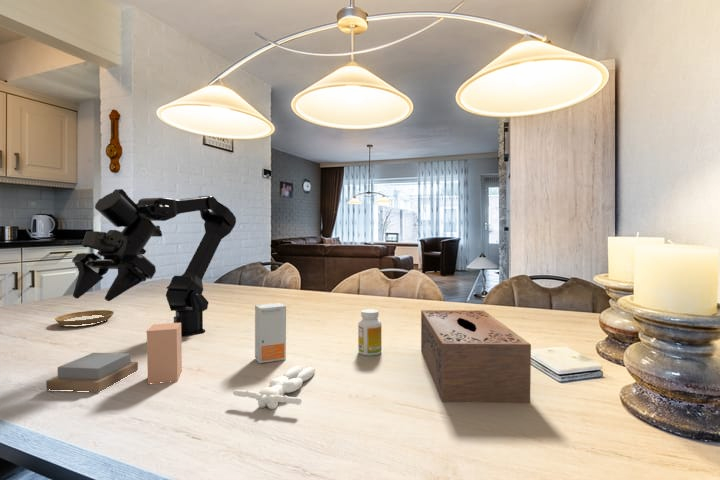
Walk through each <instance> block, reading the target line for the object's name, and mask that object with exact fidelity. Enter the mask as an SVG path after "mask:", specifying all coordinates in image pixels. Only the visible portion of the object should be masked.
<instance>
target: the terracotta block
mask: <svg viewBox="0 0 720 480" xmlns="http://www.w3.org/2000/svg"><path fill="white" fill-rule="evenodd" d="M146 342H147V343H146V344H147V345H146V357H147V359H146V360H147V363H146V364H147V385H148V384H150V383H159V384H161V383H160V382H168V383H173V382H172V381H177V382H179V380H180V377H181V375H180V374H182V373H183V361H182V360H183V359H182V358H183V357H182V356H183V355H182V353H183V352H182V349H183V347H182V345H183V344H182V336H181V323H174V322H172V323H171V322H170V323H167V322H166V323H156V324H154V323H153V324H152V325H151V326H150V328H148V329H147V330H146ZM181 372H182V373H181ZM170 381H171V382H170ZM150 385H151V384H150Z"/></svg>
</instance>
